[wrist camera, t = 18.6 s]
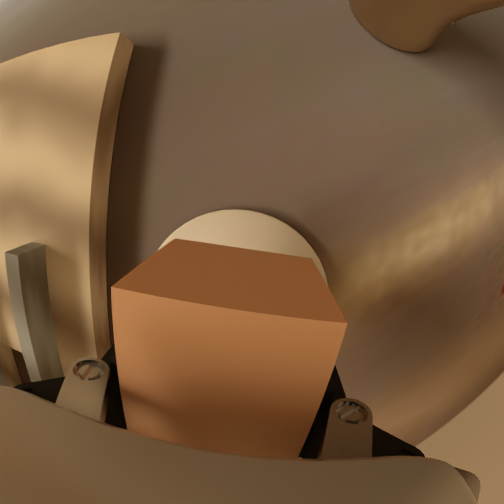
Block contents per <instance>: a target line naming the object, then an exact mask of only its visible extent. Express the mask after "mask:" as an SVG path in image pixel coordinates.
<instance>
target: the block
mask: <svg viewBox="0 0 504 504" xmlns="http://www.w3.org/2000/svg"><path fill="white" fill-rule="evenodd" d="M111 300H112V318H113V332H114V343H115V353H116V362H117V370H118V378H119V385H120V391H121V397H122V403H123V409H124V415H125V420H126V425H127V430H128V431H131V432H135V433H138V434H142V435H146V436H149V437H153V438H157V439H161V440H165V441H169V442H174V443H178V444H183V445H188V446H193V447H198V448H203V449H209V450H215V451H222V452H229V453H236V454H245V455H254V456H265V457H278V458H298V456H299V454H300V452H301V449H302V447H303V445H304V443H305V440H306V438H307V436H308V433H309V431H310V429H311V426H312V424H313V421H314V419H315V417H316V414H317V412H318V409H319V406H320V404H321V401H322V399H323V396H324V393H325V391H326V388H327V385H328V382H329V380H330V377H331V374H332V371H333V368H334V365H335V362H336V360H337V357H338V353H339V350H340V347H341V344H342V341H343V338H344V335H345V331H346V328H347V325H348V323H347V321H346V319H345V317H344V315H343V313H342V311H341V310H340V308H339V306H338V304H337V302H336V300H335V299H334V297H333V295H332V293H331V291H330V290H329V288H328V286H327V284H326V282H325V281H324V279H323V277H322V275H321V273H320V272H319V270H318V268H317V266H316V265H315V263H314V261H313V259H312V258H306V257H300V256H293V255H286V254H279V253H273V252H266V251H259V250H252V249H245V248H238V247H232V246H225V245H218V244H211V243H204V242H197V241H190V240H184V239H177V238H175V239H173V240H172V241H171V242H169V243H168V244H166V245H165V246H164V247H162V248H161V249H160V250H158V251H157V252H156V253H154V254H153V255H152V256H150V257H149V258H148V259H146V260H145V261H144V262H142V263H141V264H140V265H138V266H137V267H136V268H134V269H133V270H132V271H131V272H129V273H128V274H127V275H125V276H124V277H123V278H122V279H120V280H119V281H118V282H116V283H115V284H114V285H113V286H111Z"/></svg>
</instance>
